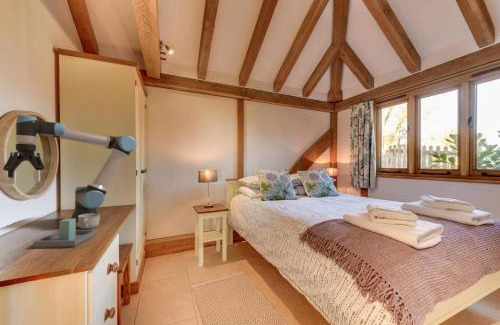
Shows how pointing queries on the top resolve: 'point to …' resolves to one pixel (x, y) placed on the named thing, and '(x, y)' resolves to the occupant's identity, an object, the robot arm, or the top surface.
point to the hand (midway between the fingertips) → (25, 182)
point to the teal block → (67, 229)
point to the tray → (54, 241)
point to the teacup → (88, 221)
